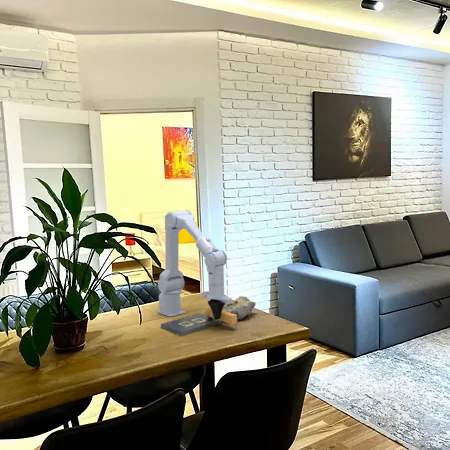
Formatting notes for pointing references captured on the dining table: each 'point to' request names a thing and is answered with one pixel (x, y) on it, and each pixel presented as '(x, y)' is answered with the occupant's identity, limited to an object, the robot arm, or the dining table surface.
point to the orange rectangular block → (222, 315)
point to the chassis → (190, 324)
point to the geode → (240, 307)
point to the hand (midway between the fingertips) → (217, 319)
